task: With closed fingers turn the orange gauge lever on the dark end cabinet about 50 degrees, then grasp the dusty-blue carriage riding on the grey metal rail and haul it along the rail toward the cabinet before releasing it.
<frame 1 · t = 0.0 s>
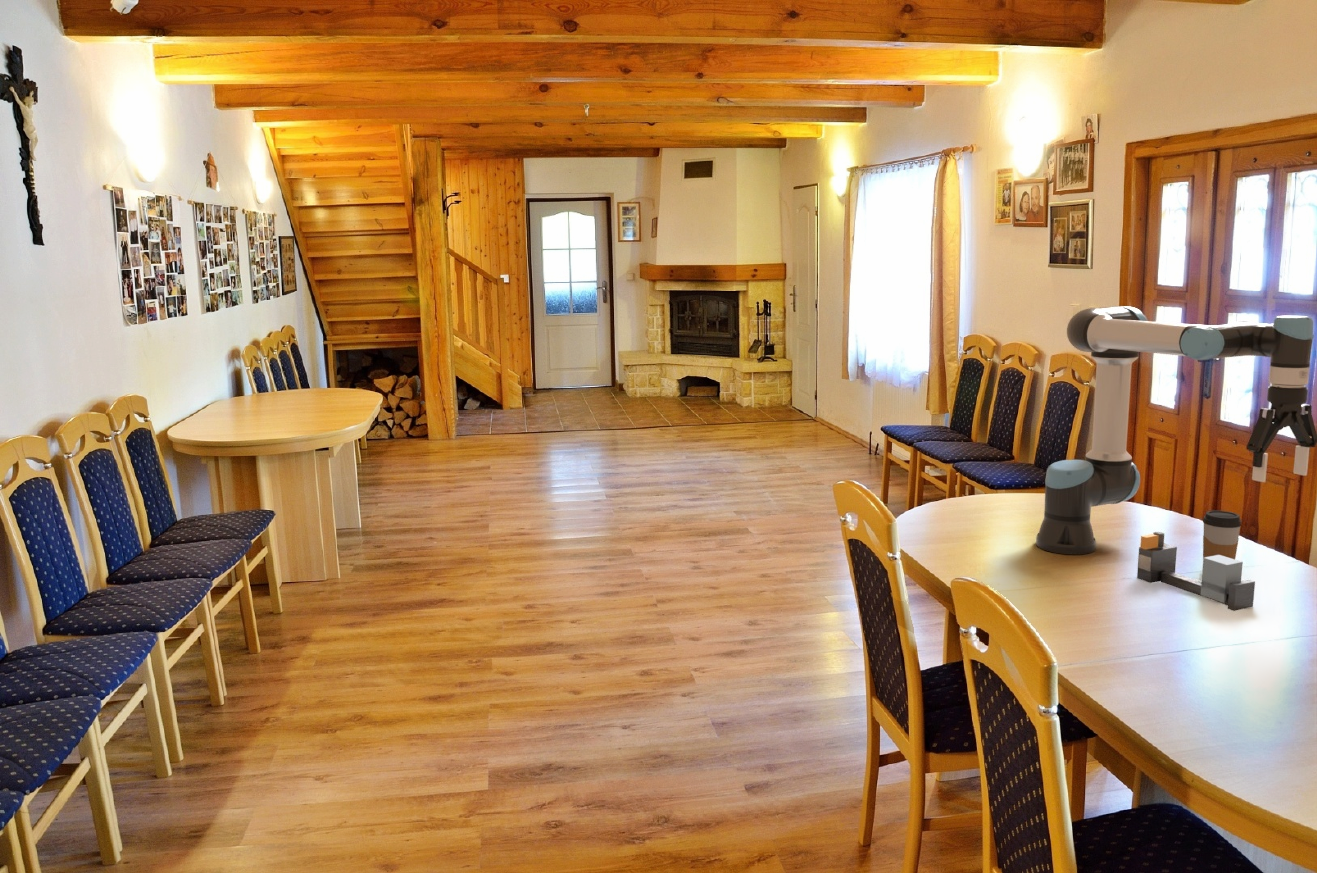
hand: (1279, 477, 224), 28 cm above the table, fingers open, 13 cm apart
rail: (1198, 593, 231), on the table
gauge lever: (1152, 540, 240), point 10 cm above the table, hinge at 0.0°
carriage: (1221, 578, 225), point 5 cm above the table, slide at 5.5 cm
square post base: (1240, 607, 222), on the table
end cabinet: (1155, 578, 242), on the table
coffee cup: (1217, 573, 246), on the table
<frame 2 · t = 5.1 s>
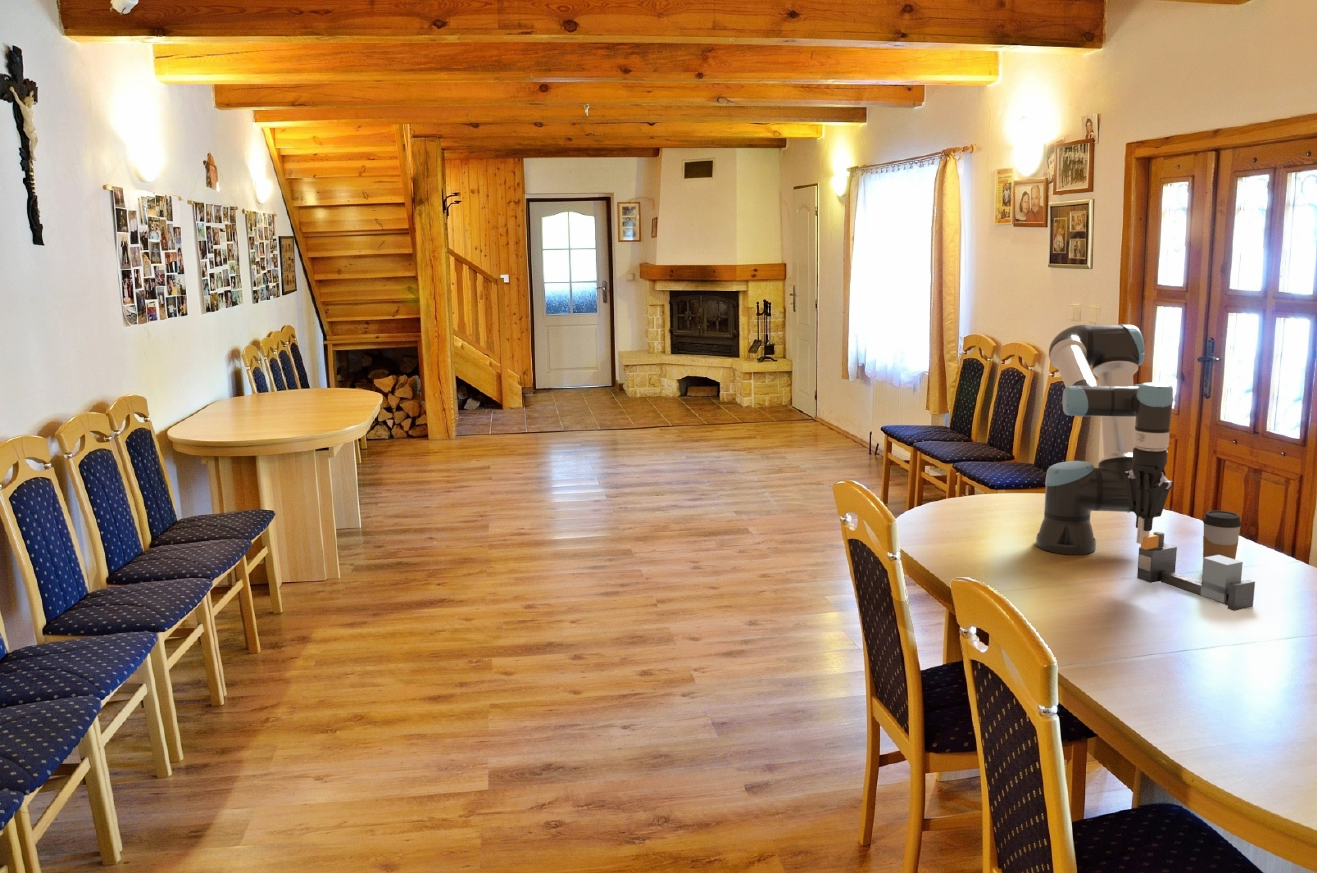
hand: (1142, 542, 240), 10 cm above the table, fingers closed
gauge lever: (1152, 540, 240), point 10 cm above the table, hinge at 1.4°, touching gripper
everything else where it was.
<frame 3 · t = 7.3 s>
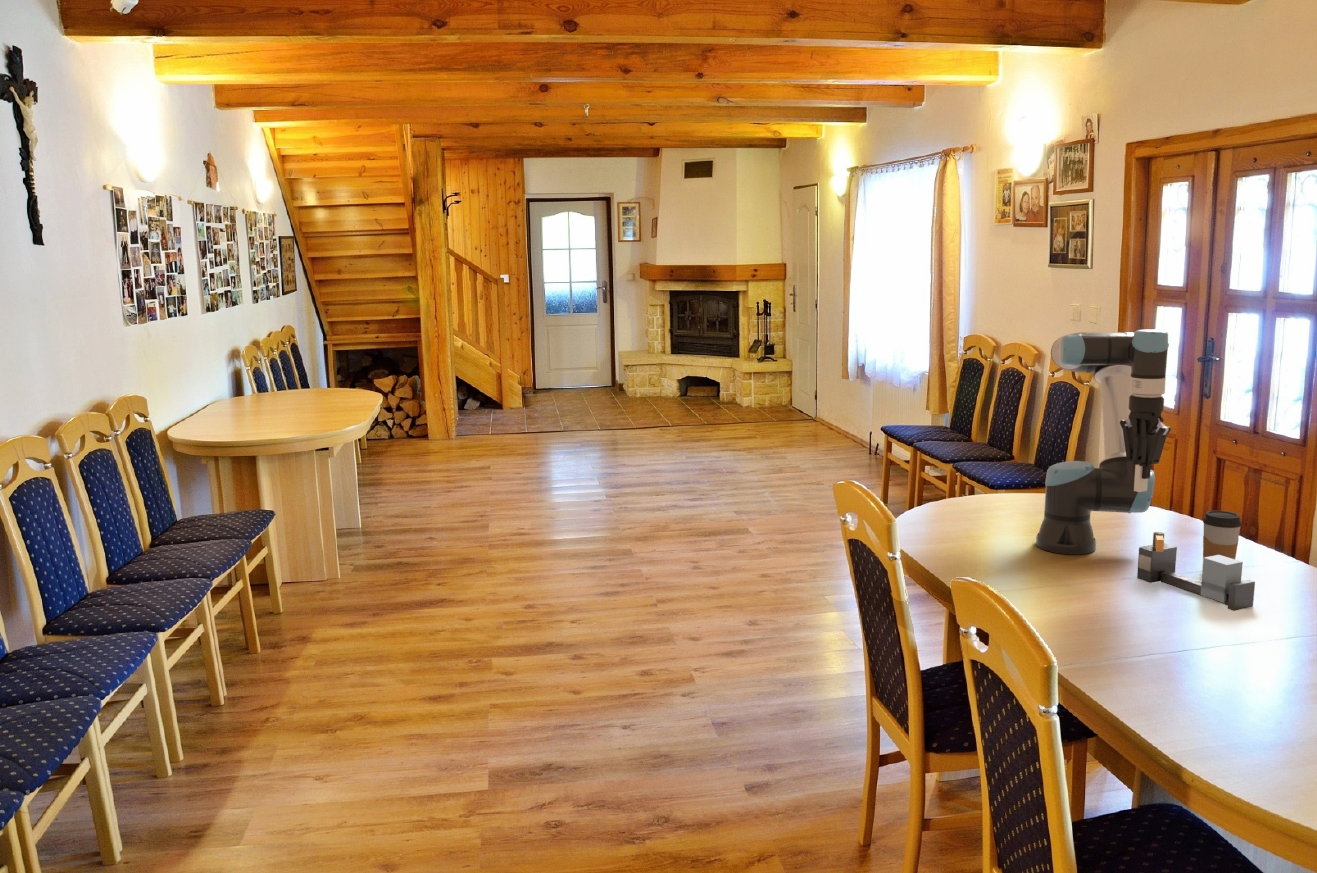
hand: (1140, 490, 239), 22 cm above the table, fingers closed
gauge lever: (1159, 541, 239), point 10 cm above the table, hinge at 44.9°
everything else where it was.
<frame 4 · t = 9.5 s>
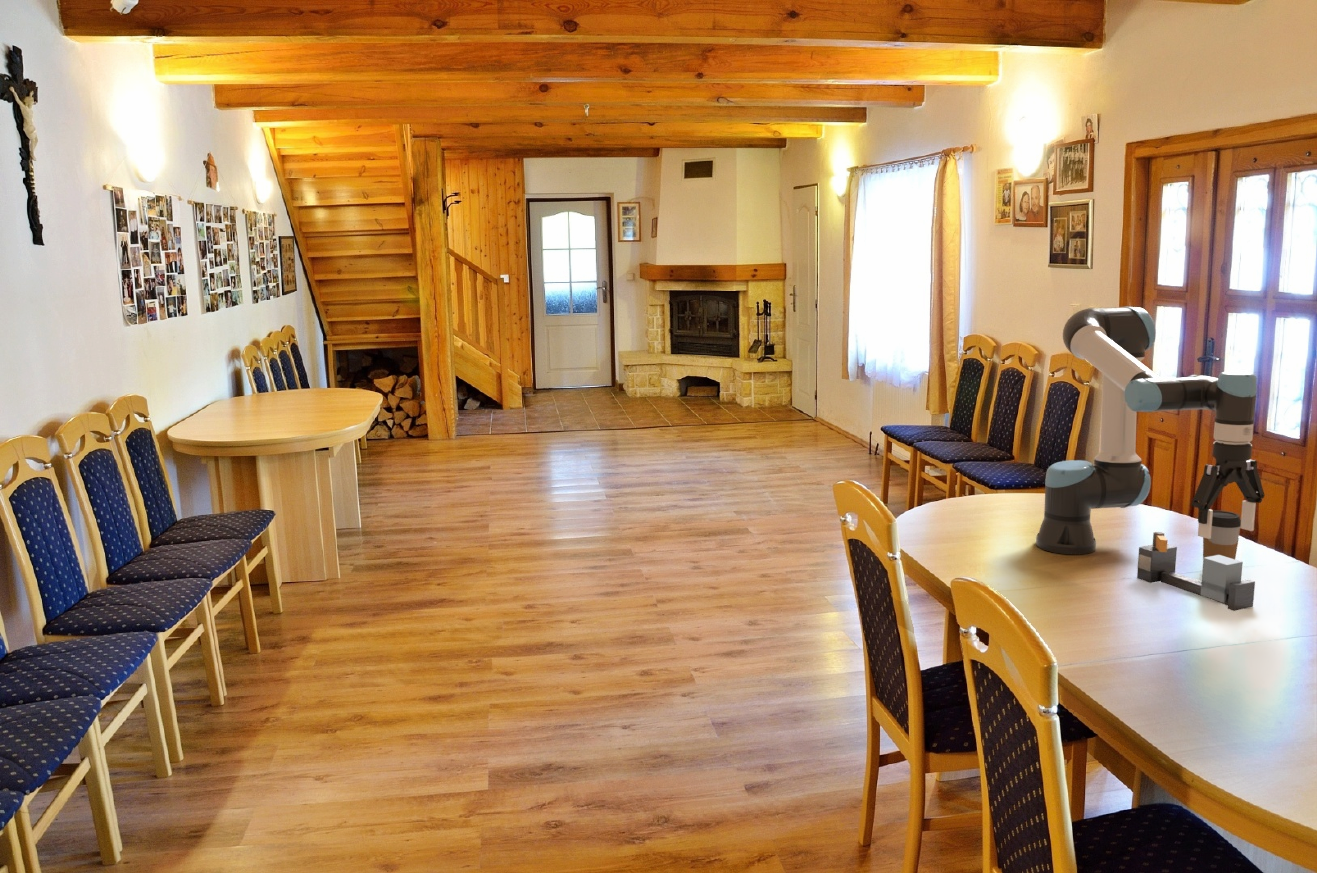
hand: (1225, 533, 223), 16 cm above the table, fingers open, 13 cm apart
gauge lever: (1160, 541, 239), point 10 cm above the table, hinge at 54.2°
everything else where it was.
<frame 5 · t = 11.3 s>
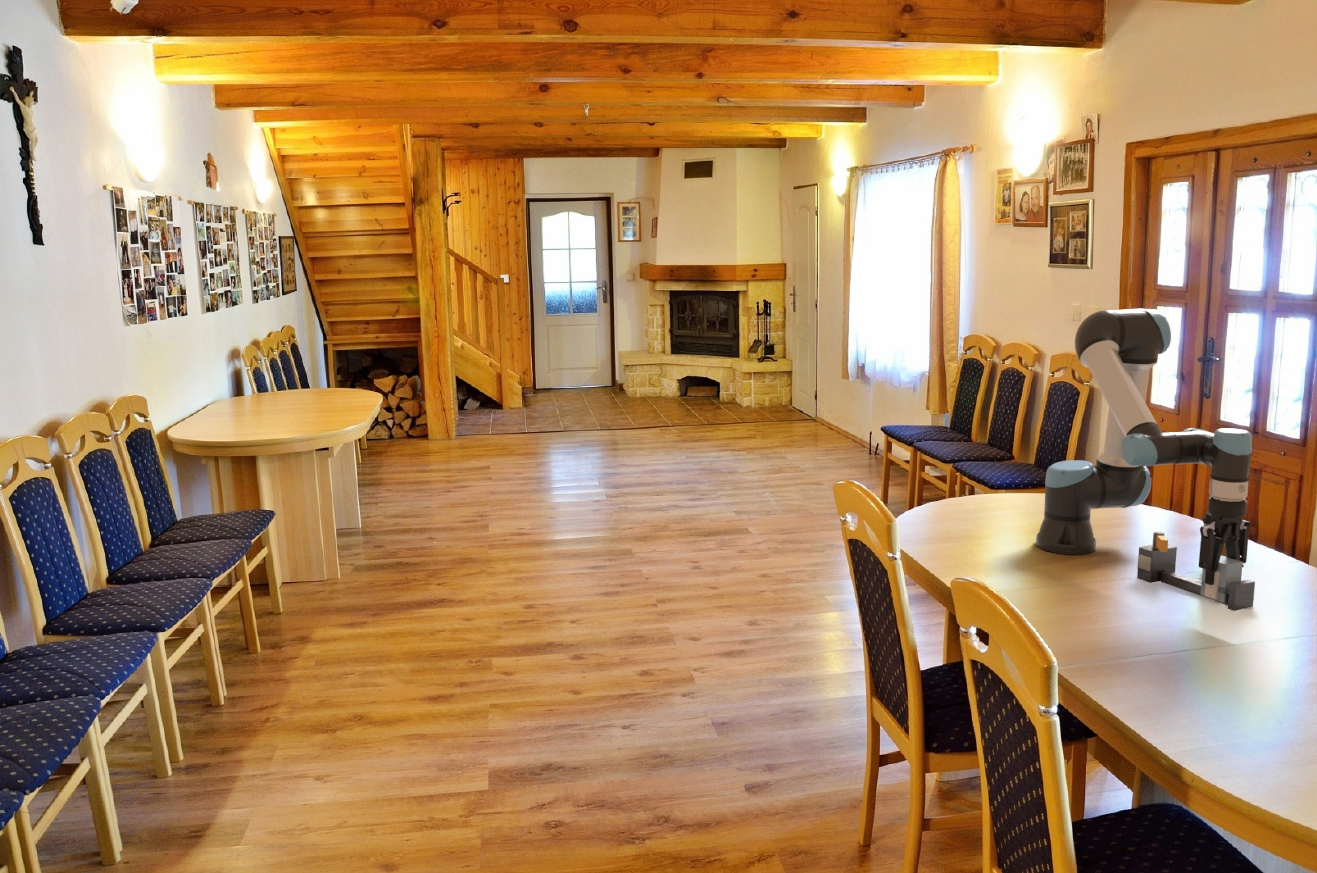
hand: (1219, 595, 226), 1 cm above the table, fingers closed on carriage, 5 cm apart
gauge lever: (1160, 541, 239), point 10 cm above the table, hinge at 55.9°
carriage: (1221, 578, 225), point 5 cm above the table, slide at 5.5 cm, touching gripper
everything else where it was.
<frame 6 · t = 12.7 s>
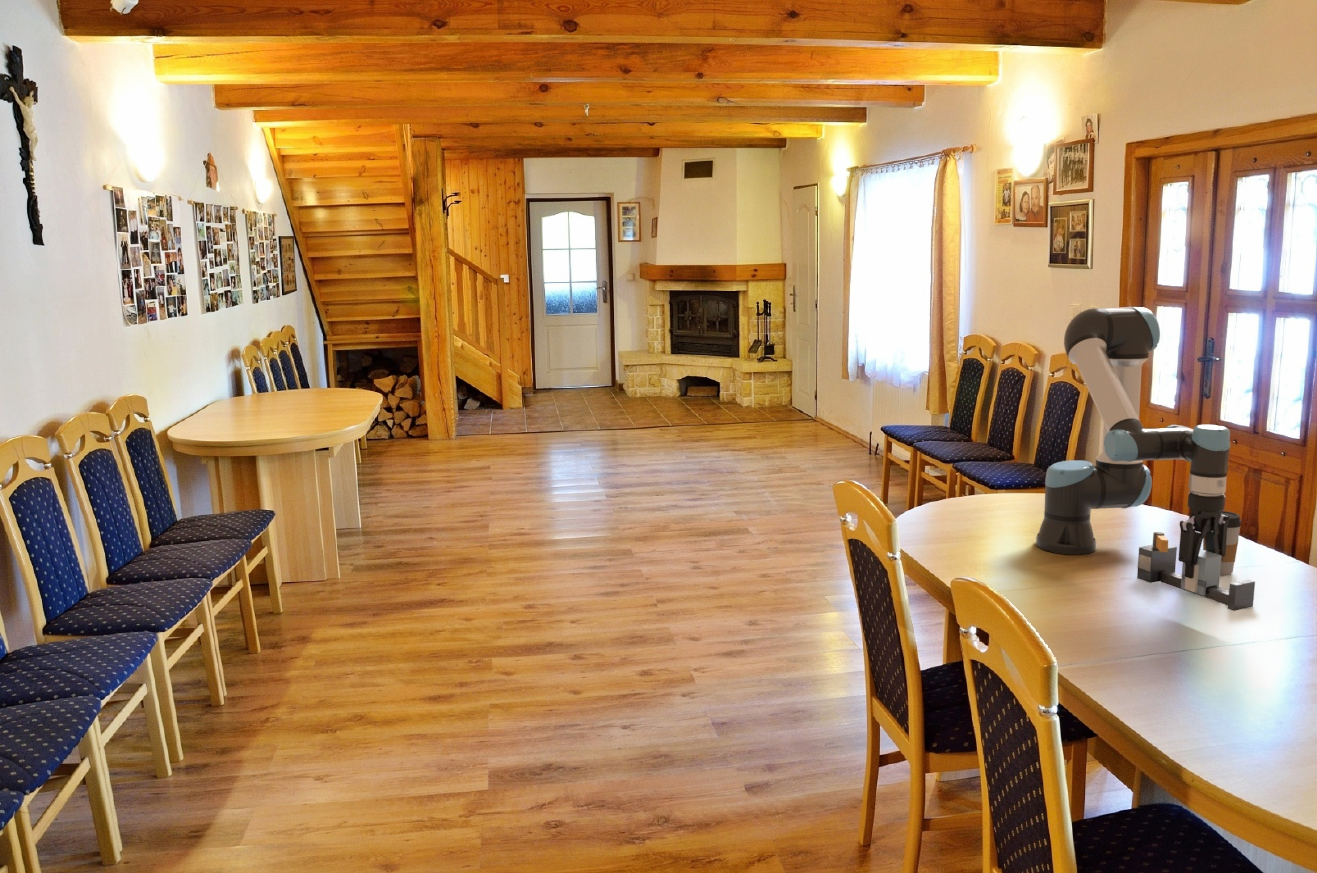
hand: (1199, 588, 231), 1 cm above the table, fingers closed on carriage, 5 cm apart
gauge lever: (1160, 541, 239), point 10 cm above the table, hinge at 56.2°
carriage: (1200, 571, 230), point 5 cm above the table, slide at 0.2 cm, touching gripper
everything else where it was.
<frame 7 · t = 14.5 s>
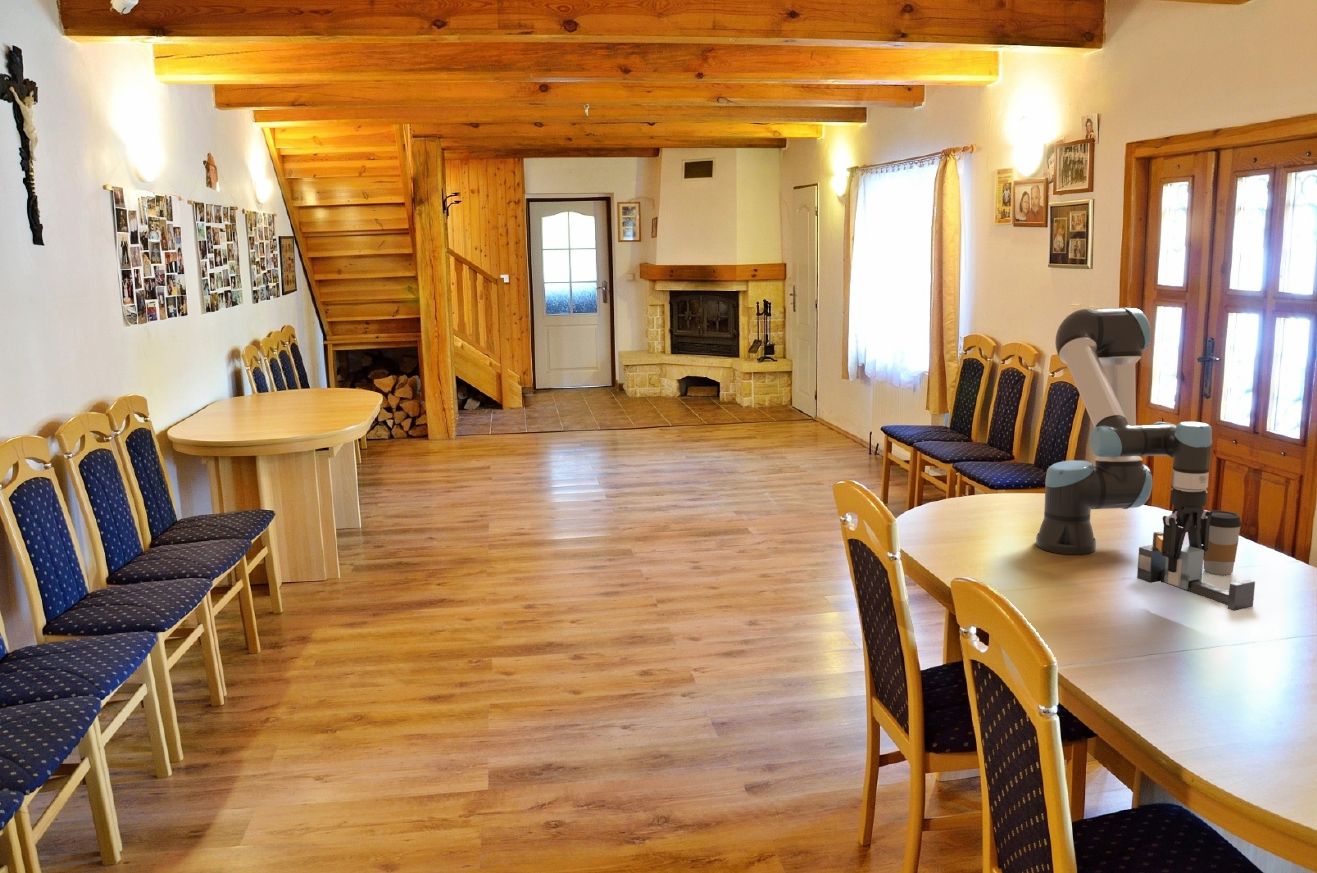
hand: (1182, 582, 235), 1 cm above the table, fingers closed on carriage, 5 cm apart
gauge lever: (1160, 541, 239), point 10 cm above the table, hinge at 56.4°, touching carriage
carriage: (1183, 566, 235), point 5 cm above the table, slide at -4.4 cm, touching gauge lever, gripper
everything else where it was.
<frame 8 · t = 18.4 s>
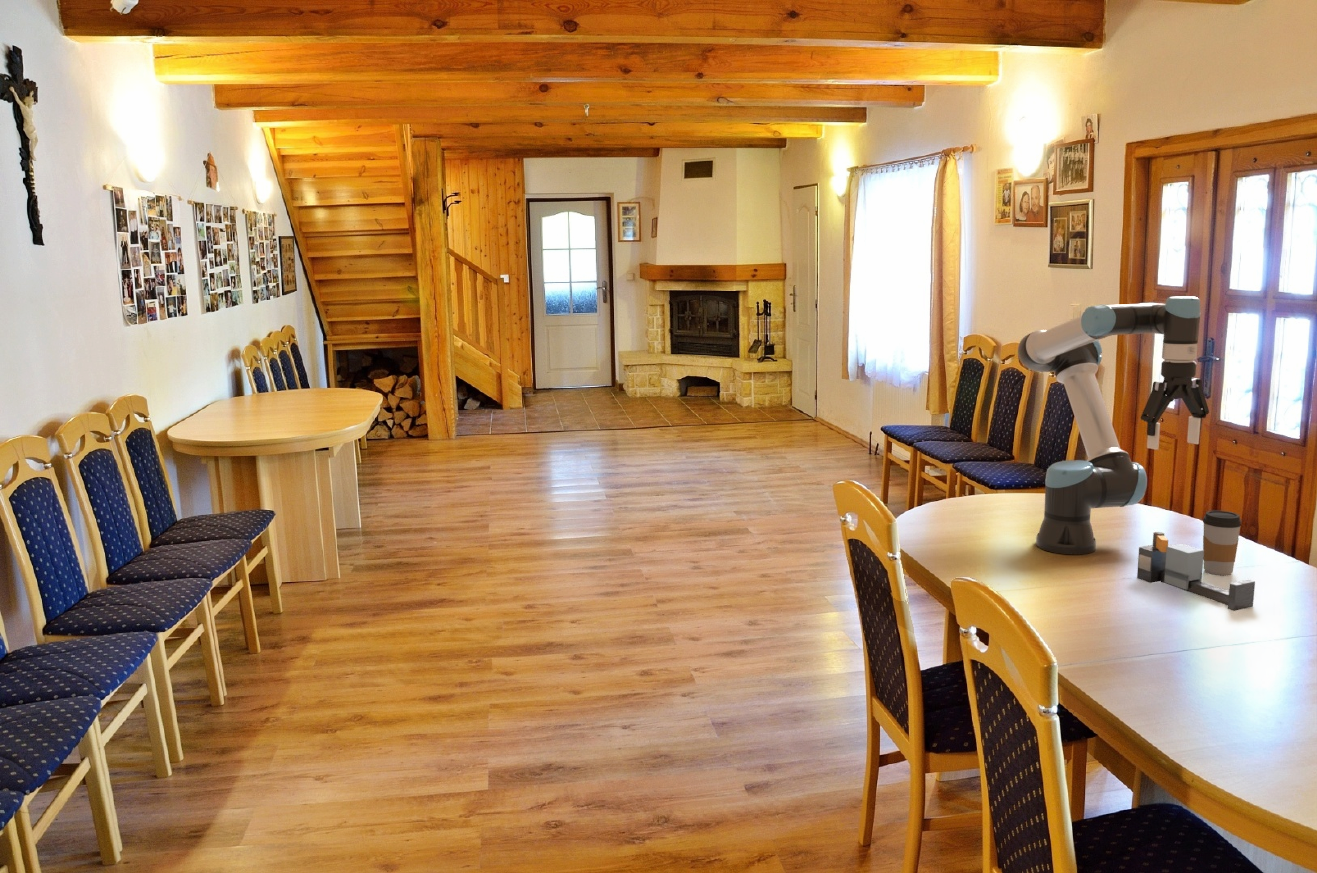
hand: (1172, 446, 244), 32 cm above the table, fingers open, 13 cm apart
carriage: (1183, 566, 235), point 5 cm above the table, slide at -4.4 cm, touching gauge lever
everything else where it was.
at the end: gauge lever at +56° (first picture: +0°); carriage slide at -4.4 cm; the gripper is holding nothing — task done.
